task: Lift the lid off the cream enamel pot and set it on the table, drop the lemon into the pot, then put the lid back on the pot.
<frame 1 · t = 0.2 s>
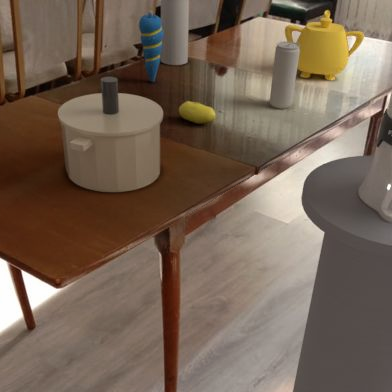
pot: (114, 170, 107), on the table
yellow sugar bowl: (317, 71, 150), on the table
lemon: (196, 123, 124), on the table
lid: (111, 115, 101), point 9 cm above the table, touching pot
beverage can: (280, 106, 133), on the table
bottle: (174, 61, 152), on the table
ornament: (151, 82, 140), on the table
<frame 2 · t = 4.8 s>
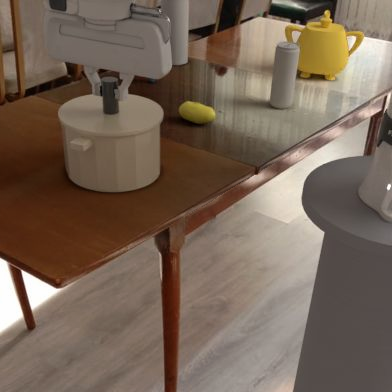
hand: (110, 97, 99), 12 cm above the table, tool pointing down, fingers closed on lid, 2 cm apart
lid: (111, 115, 101), point 9 cm above the table, touching gripper, pot
everything else where it was.
when the fingers open (3 cm above the table, at t = 14.4 s): lid stays where it is, point 1 cm above the table.
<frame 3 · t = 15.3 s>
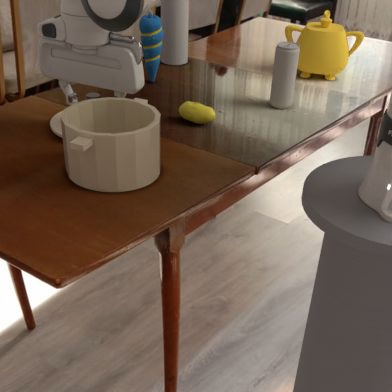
hand: (93, 108, 118), 4 cm above the table, tool pointing down, fingers open, 8 cm apart
lid: (95, 124, 120), point 1 cm above the table
everything else where it was.
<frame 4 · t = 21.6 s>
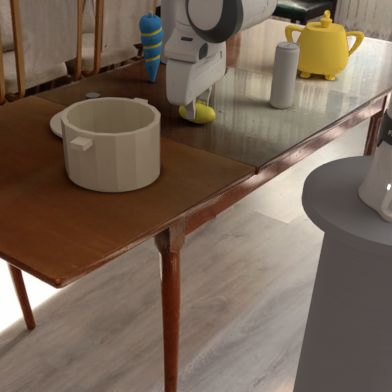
hand: (196, 113, 123), 2 cm above the table, tool pointing down, fingers closed on lemon, 4 cm apart
lemon: (196, 123, 124), on the table, touching gripper
everything else where it was.
when the fingers open (13 cm above the table, at t = 27.6 s): lemon drops 11 cm, resting on pot.
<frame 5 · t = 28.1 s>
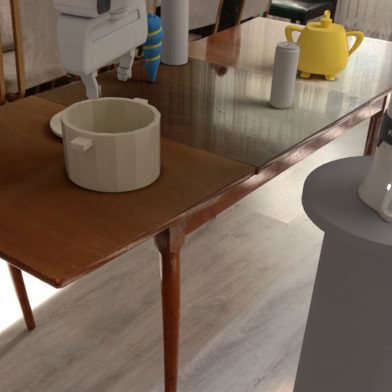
hand: (110, 88, 98), 14 cm above the table, tool pointing down, fingers open, 8 cm apart
lemon: (114, 169, 107), resting on pot
everything else where it was.
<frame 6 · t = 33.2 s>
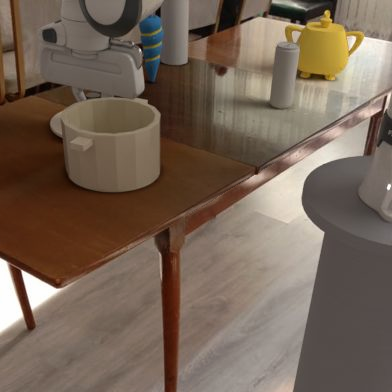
hand: (94, 112, 118), 3 cm above the table, tool pointing down, fingers closed on lid, 2 cm apart
lid: (95, 124, 120), point 1 cm above the table, touching gripper
everything else where it was.
when the fingers open (12 cm above the table, at t = 43.6 s): lid stays where it is, resting on pot.
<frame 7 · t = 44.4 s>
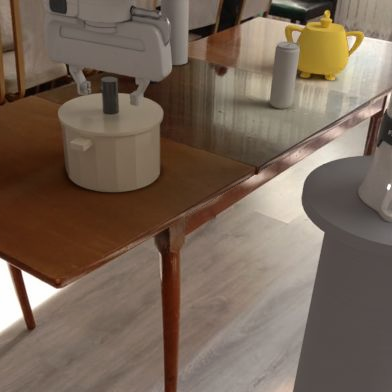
hand: (110, 99, 99), 12 cm above the table, tool pointing down, fingers open, 8 cm apart
lid: (111, 115, 101), point 9 cm above the table, touching pot
everything else where it was.
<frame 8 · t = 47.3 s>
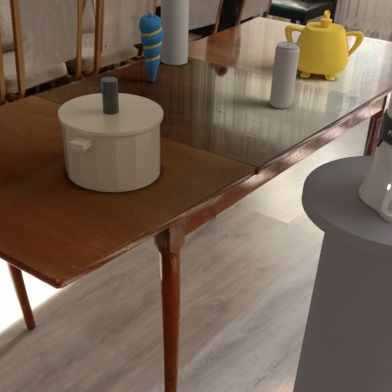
nothing on the table moved.
at the end: lemon inside the target area in the pot (0.2 cm from its centre), point 0.3 cm above the pot's base; lid 0.0 cm off-centre on the pot, point 9.4 cm above the pot's base; lid tilted 0° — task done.
